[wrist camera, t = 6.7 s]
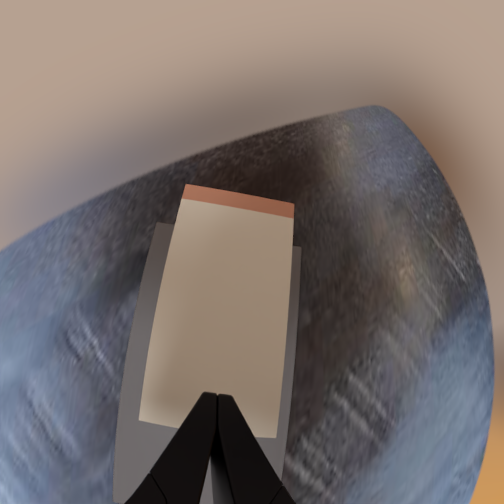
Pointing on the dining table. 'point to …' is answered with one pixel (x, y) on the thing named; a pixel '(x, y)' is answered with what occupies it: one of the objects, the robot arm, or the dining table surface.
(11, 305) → the dining table surface
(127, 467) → the charcoal mat
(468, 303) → the dining table surface
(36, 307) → the dining table surface
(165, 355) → the cream block
